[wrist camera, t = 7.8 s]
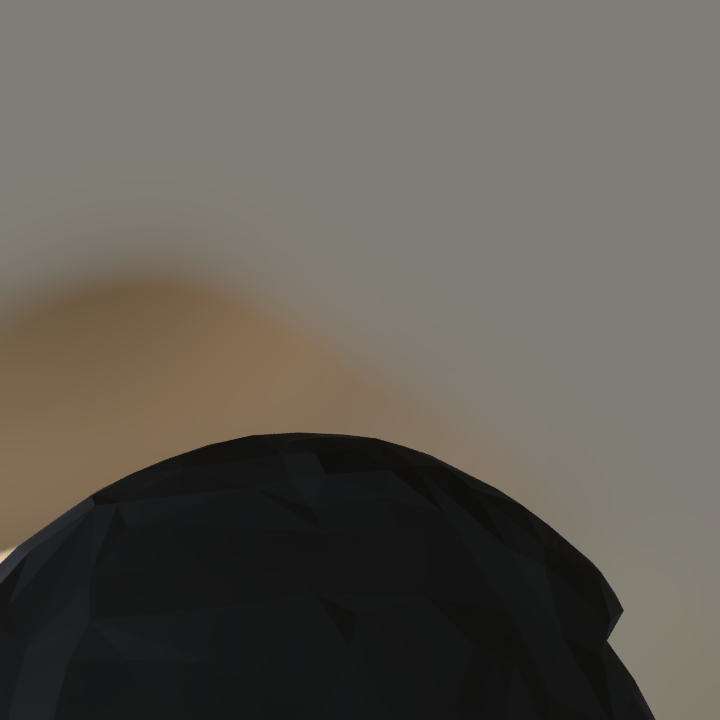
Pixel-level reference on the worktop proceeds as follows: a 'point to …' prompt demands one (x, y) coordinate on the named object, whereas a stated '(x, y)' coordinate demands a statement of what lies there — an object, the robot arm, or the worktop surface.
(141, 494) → the spray can
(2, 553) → the worktop surface
